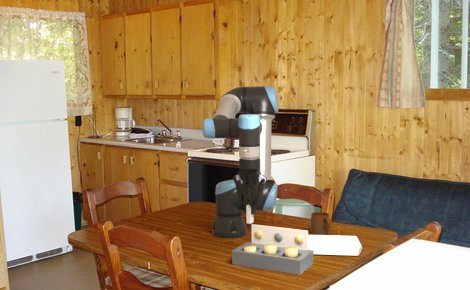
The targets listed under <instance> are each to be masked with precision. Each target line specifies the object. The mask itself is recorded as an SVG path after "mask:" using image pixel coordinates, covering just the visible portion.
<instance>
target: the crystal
mask: <svg viewBox="0 0 470 290" xmlns="http://www.w3.org/2000/svg"><path fill="white" fill-rule="evenodd" d="M362 249H363V245H362V243H361V242H360V240H359V238H358V236H356V235H337V234H336V235H331V234H330V235H311V234H308V250H313V255H321V256H322V255H324V256H325V255H326V256H327V255H328V256H352V257H354V256H355V257H356V256H357V257H359V256H360V254H361V253H362Z"/></svg>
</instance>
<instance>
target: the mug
mask: <svg viewBox="0 0 470 290" xmlns="http://www.w3.org/2000/svg"><path fill="white" fill-rule="evenodd" d="M331 226H332V220H331V219H330V216H329V213H328V212H323V211H322V212H321V211H318V212H316V211H315V212H312V213H311V215H310V231H311V232H310V235H329V234H330V228H331Z"/></svg>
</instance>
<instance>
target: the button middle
mask: <svg viewBox="0 0 470 290" xmlns="http://www.w3.org/2000/svg"><path fill="white" fill-rule="evenodd" d="M264 254H268V255H276V254H277V246H276V245H274V244H267V245H264Z"/></svg>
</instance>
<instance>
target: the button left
mask: <svg viewBox="0 0 470 290" xmlns="http://www.w3.org/2000/svg"><path fill="white" fill-rule="evenodd" d="M244 251H247V252H256V246H252V245H248V246H244Z"/></svg>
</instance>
